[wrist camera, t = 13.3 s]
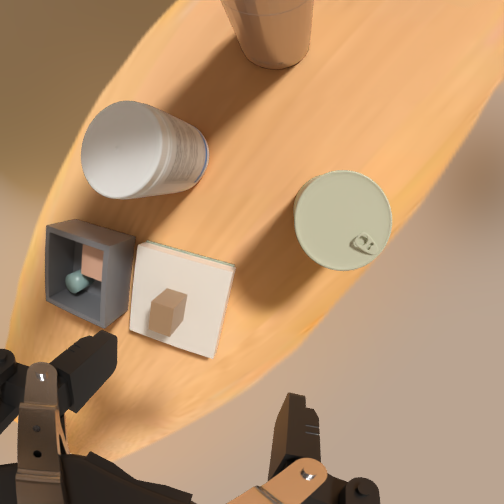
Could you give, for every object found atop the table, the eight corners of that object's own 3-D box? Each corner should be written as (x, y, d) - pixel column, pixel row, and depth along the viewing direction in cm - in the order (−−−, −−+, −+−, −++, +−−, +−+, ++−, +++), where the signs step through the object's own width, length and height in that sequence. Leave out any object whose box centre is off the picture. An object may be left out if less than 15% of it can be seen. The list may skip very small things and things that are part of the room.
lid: (145, 241, 41) (118, 253, 34) (236, 267, 40) (223, 285, 33) (136, 323, 44) (113, 344, 37) (216, 351, 43) (203, 378, 36)
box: (75, 218, 42) (46, 225, 35) (135, 236, 41) (109, 246, 34) (71, 287, 45) (45, 300, 38) (127, 310, 44) (104, 328, 37)
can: (331, 261, 38) (346, 293, 27) (278, 213, 38) (271, 226, 26) (378, 208, 36) (413, 219, 24) (326, 159, 36) (341, 147, 24)
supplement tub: (185, 109, 37) (131, 77, 22) (225, 163, 37) (186, 151, 23) (133, 155, 39) (65, 147, 25) (169, 207, 40) (109, 221, 25)
